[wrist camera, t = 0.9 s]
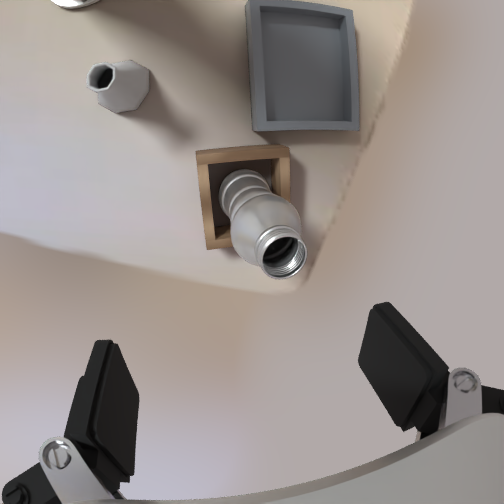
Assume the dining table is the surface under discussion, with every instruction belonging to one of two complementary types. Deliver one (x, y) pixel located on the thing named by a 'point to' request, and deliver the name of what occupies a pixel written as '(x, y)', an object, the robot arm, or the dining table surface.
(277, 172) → the holder
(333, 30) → the parts tray
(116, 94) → the flask
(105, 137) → the dining table surface
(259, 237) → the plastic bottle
